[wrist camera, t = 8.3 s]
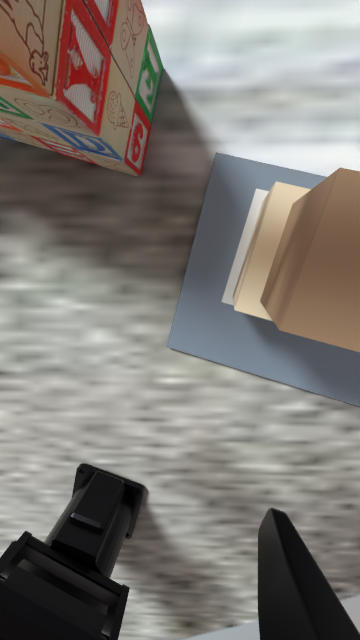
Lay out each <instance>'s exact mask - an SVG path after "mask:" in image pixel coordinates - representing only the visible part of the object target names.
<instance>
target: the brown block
mask: <svg viewBox="0 0 360 640" xmlns="http://www.w3.org/2000/svg"><path fill="white" fill-rule="evenodd" d="M260 302H261V304H262V305H263V307H264V308H265V310H266V311H267V313H268V314H269V316H270V317H271V318H272V320H273V321H274V323H275V324H276V326H277V327H278V329H279V330H280V331H284V332H287V333H291V334H295V335H298V336H302V337H306V338H309V339H313V340H316V341H320V342H324V343H327V344H331V345H335V346H338V347H342V348H346V349H349V350H353V351H357V352H360V172H359V171H354V170H349V169H344V168H339V169H338V170H336V171H335V172H334V173H332V174H331V175H330V176H328V177H327V178H326V179H324V180H323V181H322V182H321V183H319V184H318V185H317V186H315V187H314V188H313V189H311V190H310V191H309V192H307V193H306V194H305V195H303V196H302V197H301V198H300V199H298V200H297V201H296V202H294V203H293V204H292V207H291V210H290V213H289V216H288V219H287V222H286V225H285V228H284V231H283V233H282V236H281V239H280V242H279V245H278V248H277V251H276V254H275V257H274V260H273V263H272V266H271V269H270V272H269V275H268V278H267V281H266V284H265V287H264V290H263V293H262V296H261V299H260Z"/></svg>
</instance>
